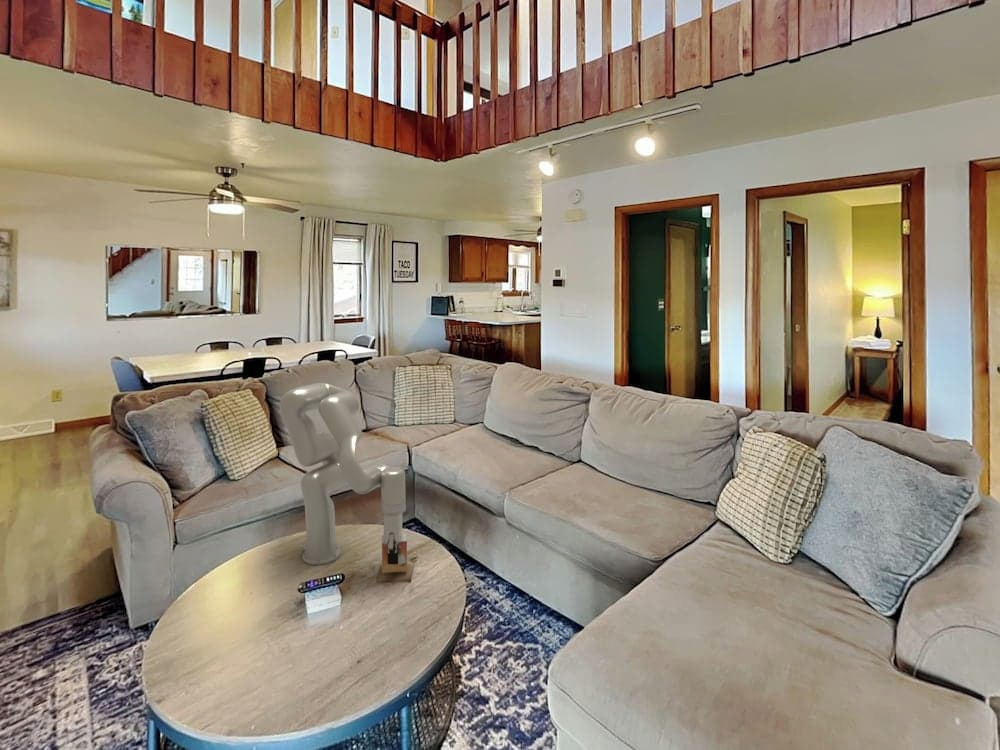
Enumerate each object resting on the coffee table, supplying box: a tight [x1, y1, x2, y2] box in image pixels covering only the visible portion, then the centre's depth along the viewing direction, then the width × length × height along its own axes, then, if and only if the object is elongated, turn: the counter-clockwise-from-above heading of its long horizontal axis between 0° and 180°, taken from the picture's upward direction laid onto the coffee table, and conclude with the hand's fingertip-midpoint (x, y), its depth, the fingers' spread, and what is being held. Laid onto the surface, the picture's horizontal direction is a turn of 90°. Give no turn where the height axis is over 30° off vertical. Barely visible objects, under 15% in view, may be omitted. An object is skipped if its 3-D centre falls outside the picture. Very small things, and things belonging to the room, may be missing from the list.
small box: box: [381, 533, 408, 573], centre depth 171 cm, size 8×6×10 cm
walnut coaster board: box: [375, 564, 415, 584], centre depth 173 cm, size 11×9×1 cm
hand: (394, 557), depth 172 cm, fingers closed on small box, 6 cm apart
